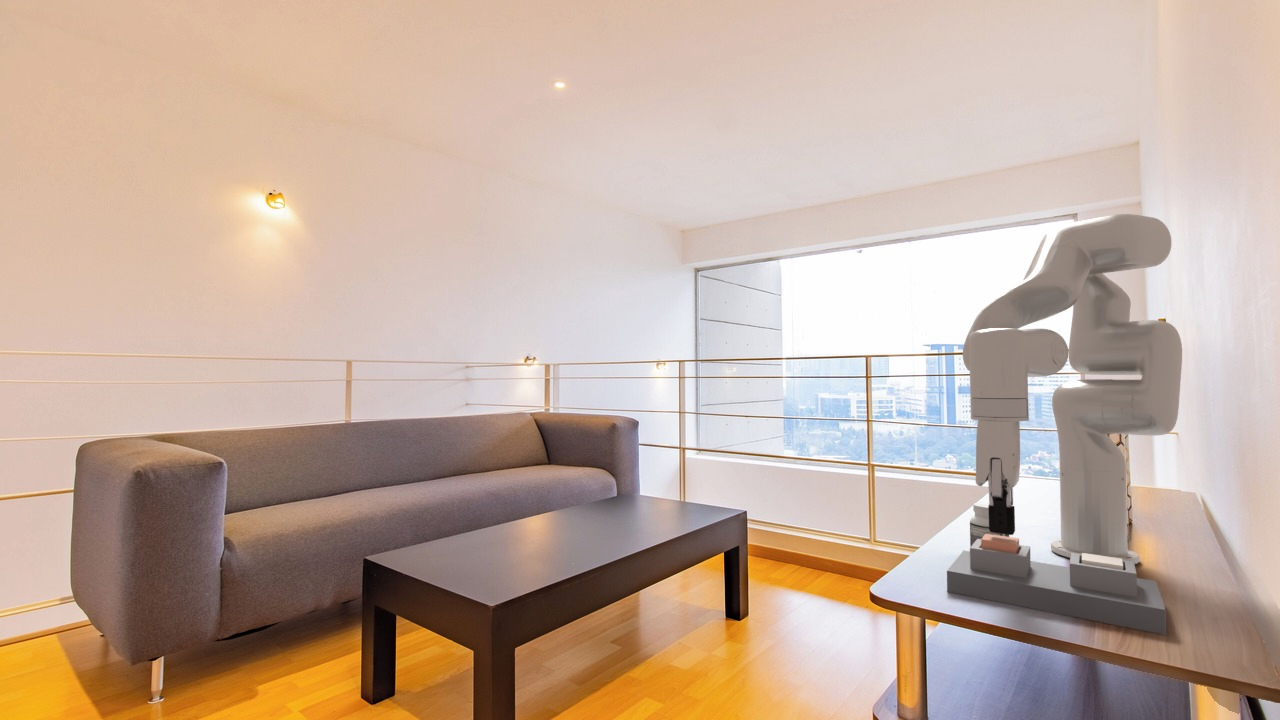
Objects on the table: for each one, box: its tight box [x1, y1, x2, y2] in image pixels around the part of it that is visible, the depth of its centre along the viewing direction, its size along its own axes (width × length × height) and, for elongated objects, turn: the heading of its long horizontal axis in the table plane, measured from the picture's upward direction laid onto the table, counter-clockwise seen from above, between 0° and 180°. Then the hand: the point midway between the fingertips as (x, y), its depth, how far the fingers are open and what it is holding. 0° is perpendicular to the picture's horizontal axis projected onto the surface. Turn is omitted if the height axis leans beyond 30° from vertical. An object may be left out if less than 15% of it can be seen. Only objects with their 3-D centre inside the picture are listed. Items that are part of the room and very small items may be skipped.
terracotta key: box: [981, 534, 1020, 554], centre depth 89 cm, size 4×4×3 cm
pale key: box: [1082, 553, 1123, 570], centre depth 81 cm, size 4×4×3 cm
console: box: [946, 539, 1167, 636], centre depth 85 cm, size 14×24×6 cm, turn 53°
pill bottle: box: [969, 502, 1010, 548], centre depth 101 cm, size 6×6×10 cm
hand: (1002, 532), depth 89 cm, fingers closed
